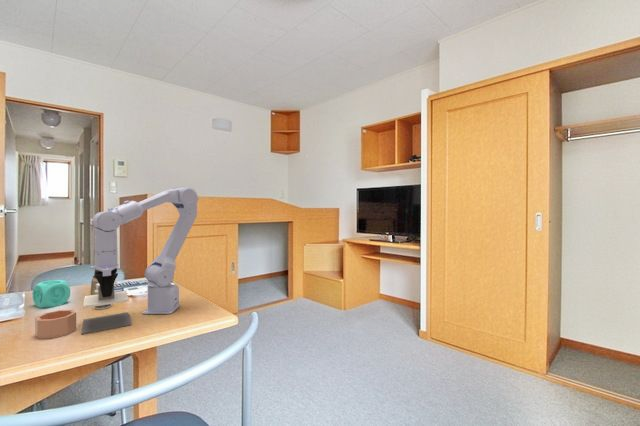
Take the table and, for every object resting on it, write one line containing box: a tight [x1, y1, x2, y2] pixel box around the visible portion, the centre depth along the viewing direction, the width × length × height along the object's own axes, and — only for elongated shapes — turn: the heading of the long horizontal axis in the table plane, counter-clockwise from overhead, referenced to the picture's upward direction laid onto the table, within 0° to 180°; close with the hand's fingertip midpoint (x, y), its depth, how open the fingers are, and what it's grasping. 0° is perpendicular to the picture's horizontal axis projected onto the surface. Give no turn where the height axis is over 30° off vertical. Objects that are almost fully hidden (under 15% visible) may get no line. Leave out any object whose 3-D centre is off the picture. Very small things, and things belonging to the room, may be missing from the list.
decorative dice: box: [32, 279, 71, 309], centre depth 112 cm, size 8×8×8 cm
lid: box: [82, 284, 130, 309], centre depth 96 cm, size 11×11×4 cm
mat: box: [81, 311, 132, 335], centre depth 96 cm, size 12×12×1 cm
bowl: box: [34, 309, 77, 340], centre depth 89 cm, size 8×8×5 cm
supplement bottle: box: [94, 284, 112, 310], centre depth 110 cm, size 5×5×8 cm
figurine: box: [90, 269, 99, 295], centre depth 125 cm, size 7×7×12 cm
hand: (106, 294), depth 96 cm, fingers closed on lid, 4 cm apart
